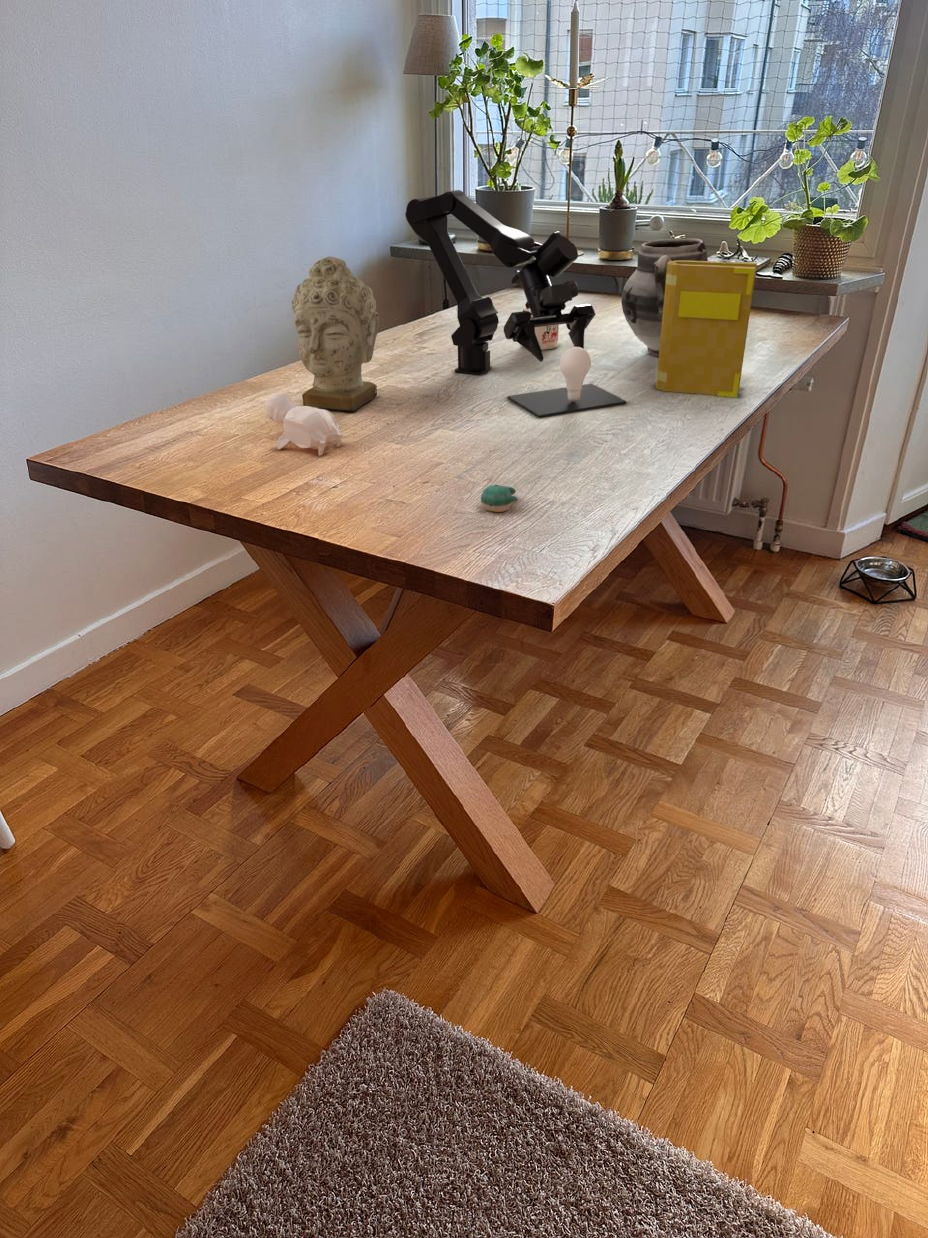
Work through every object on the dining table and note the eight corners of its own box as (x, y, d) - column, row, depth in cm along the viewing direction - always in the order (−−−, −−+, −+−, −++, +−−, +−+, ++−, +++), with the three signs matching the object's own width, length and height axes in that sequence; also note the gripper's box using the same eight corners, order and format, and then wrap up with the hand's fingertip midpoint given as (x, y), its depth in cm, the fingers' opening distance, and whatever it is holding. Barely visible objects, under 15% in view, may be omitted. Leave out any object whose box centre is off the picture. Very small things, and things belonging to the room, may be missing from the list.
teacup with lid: (546, 352, 217) (548, 302, 211) (515, 347, 222) (515, 298, 216) (571, 341, 225) (573, 293, 219) (540, 337, 230) (542, 289, 224)
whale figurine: (472, 510, 137) (472, 487, 135) (492, 493, 143) (492, 471, 141) (507, 517, 135) (508, 493, 133) (526, 499, 140) (526, 476, 138)
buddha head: (282, 411, 181) (264, 263, 166) (325, 385, 196) (312, 248, 181) (358, 419, 176) (346, 267, 161) (396, 392, 191) (388, 251, 176)
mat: (507, 398, 186) (507, 395, 185) (590, 385, 192) (591, 383, 192) (538, 417, 175) (538, 415, 174) (626, 403, 181) (626, 401, 181)
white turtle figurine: (341, 458, 166) (280, 417, 169) (351, 419, 160) (288, 377, 164) (311, 473, 160) (249, 430, 163) (320, 433, 154) (256, 389, 158)
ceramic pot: (701, 372, 200) (715, 252, 187) (602, 363, 208) (609, 247, 195) (725, 342, 222) (739, 233, 209) (635, 335, 230) (643, 230, 217)
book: (739, 388, 189) (757, 262, 176) (736, 397, 184) (754, 268, 171) (658, 381, 194) (670, 259, 181) (653, 390, 188) (665, 264, 176)
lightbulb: (580, 408, 177) (583, 352, 172) (553, 403, 180) (554, 348, 175) (593, 400, 182) (596, 345, 176) (567, 395, 185) (569, 341, 179)
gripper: (510, 270, 174) (535, 340, 171) (593, 262, 180) (619, 330, 177) (493, 304, 184) (516, 371, 181) (572, 295, 190) (596, 360, 187)
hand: (562, 357), depth 181 cm, fingers open, 9 cm apart
